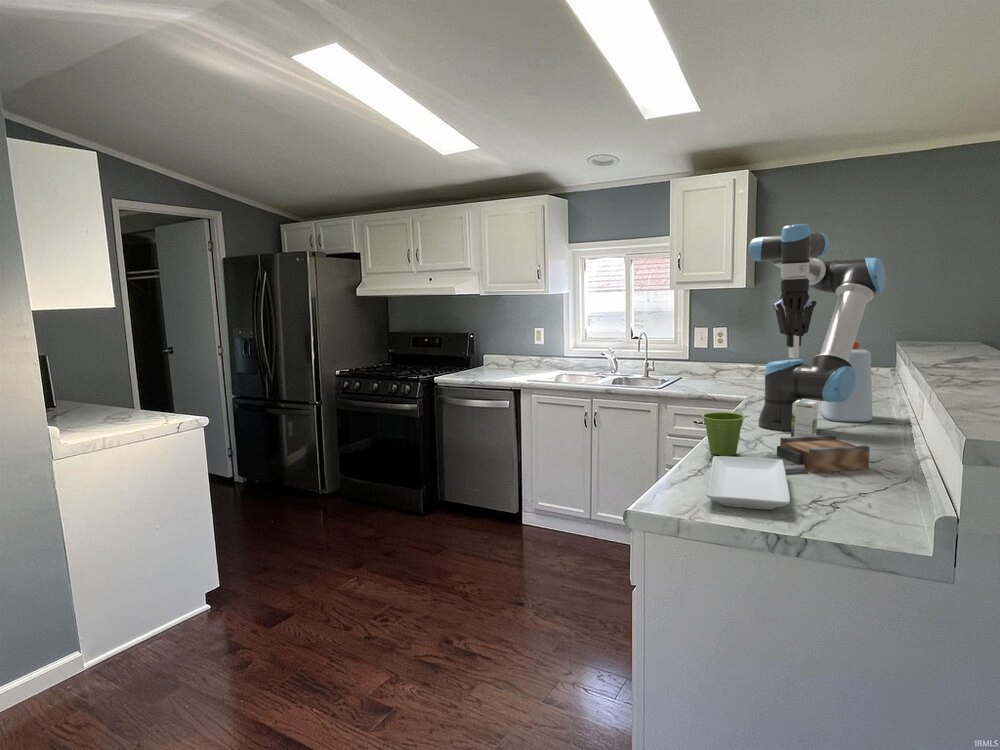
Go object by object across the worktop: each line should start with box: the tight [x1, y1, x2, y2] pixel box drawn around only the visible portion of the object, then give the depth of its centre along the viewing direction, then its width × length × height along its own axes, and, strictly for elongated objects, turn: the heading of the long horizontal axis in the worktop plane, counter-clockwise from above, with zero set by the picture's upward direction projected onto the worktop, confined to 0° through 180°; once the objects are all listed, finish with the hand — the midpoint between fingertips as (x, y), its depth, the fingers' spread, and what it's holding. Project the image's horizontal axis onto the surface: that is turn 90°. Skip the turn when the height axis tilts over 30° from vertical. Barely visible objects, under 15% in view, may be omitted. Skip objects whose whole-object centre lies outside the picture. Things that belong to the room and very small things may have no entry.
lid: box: [740, 445, 805, 471], centre depth 160 cm, size 13×11×4 cm
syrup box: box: [790, 399, 819, 437], centre depth 176 cm, size 6×6×14 cm
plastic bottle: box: [820, 340, 874, 423], centre depth 216 cm, size 15×15×28 cm
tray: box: [705, 455, 791, 511], centre depth 141 cm, size 17×31×4 cm, turn 158°
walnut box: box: [779, 434, 870, 474], centre depth 161 cm, size 16×14×6 cm
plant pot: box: [701, 411, 746, 457], centre depth 174 cm, size 12×12×11 cm
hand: (793, 357), depth 180 cm, fingers closed
